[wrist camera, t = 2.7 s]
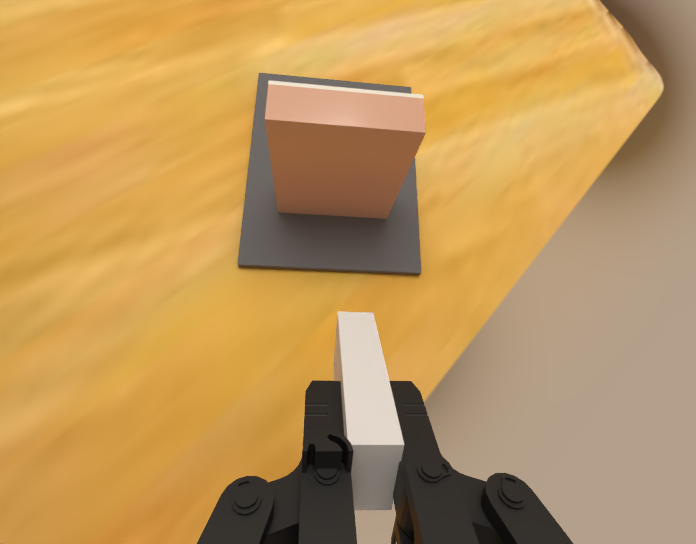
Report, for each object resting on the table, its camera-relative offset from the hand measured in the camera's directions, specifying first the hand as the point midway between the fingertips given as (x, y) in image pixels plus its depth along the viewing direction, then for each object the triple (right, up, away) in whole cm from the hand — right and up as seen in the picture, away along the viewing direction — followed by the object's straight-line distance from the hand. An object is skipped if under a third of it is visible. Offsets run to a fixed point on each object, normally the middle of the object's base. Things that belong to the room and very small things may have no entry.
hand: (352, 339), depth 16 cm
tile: (-2, +9, +19) cm, 21 cm away
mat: (-2, +13, +21) cm, 25 cm away
